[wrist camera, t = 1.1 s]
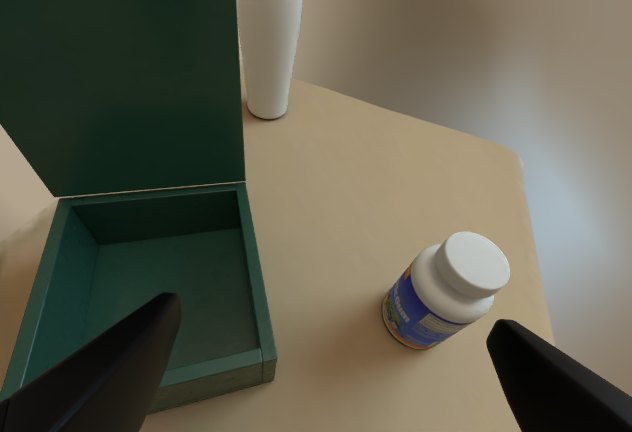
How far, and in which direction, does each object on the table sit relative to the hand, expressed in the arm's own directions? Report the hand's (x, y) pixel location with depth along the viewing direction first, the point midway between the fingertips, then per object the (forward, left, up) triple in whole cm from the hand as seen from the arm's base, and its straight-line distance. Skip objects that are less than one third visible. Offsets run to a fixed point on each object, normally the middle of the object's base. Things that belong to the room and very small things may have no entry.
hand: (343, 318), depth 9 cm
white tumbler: (+34, -6, -16) cm, 38 cm away
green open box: (+9, +7, -15) cm, 19 cm away
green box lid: (+15, +6, -2) cm, 17 cm away
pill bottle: (+3, -11, -16) cm, 19 cm away
